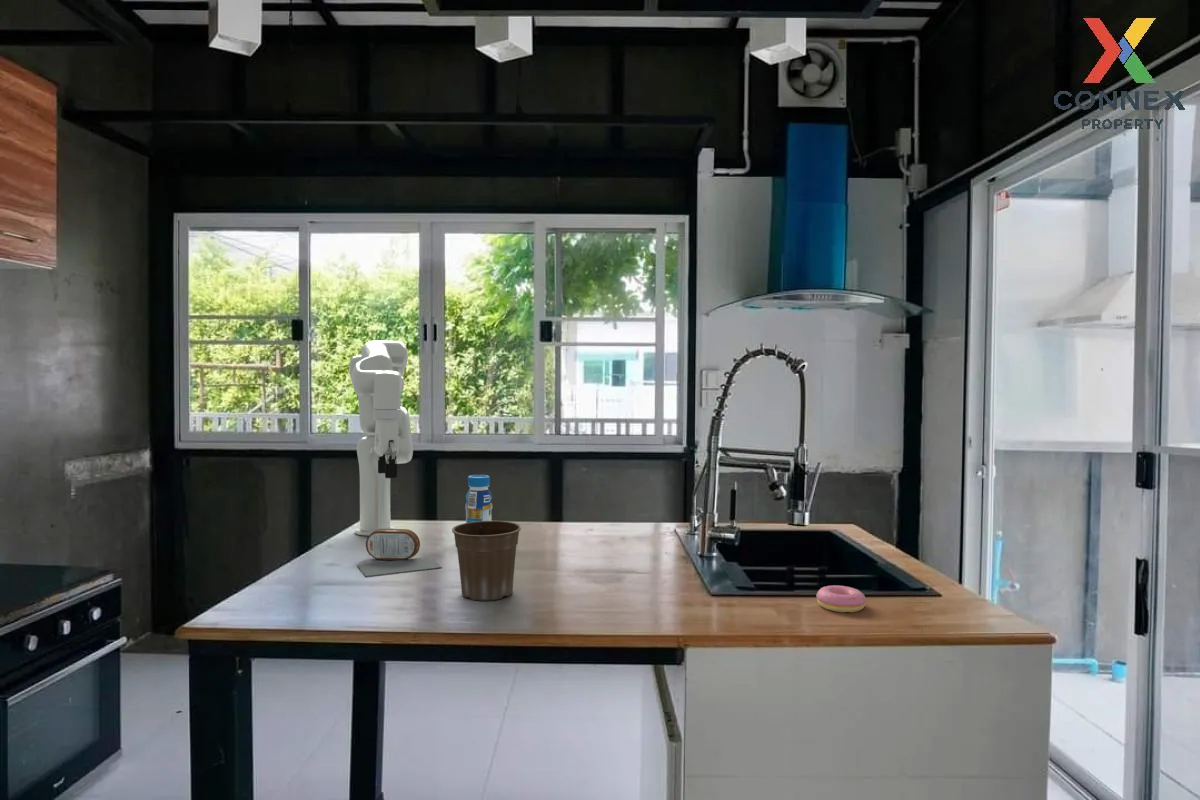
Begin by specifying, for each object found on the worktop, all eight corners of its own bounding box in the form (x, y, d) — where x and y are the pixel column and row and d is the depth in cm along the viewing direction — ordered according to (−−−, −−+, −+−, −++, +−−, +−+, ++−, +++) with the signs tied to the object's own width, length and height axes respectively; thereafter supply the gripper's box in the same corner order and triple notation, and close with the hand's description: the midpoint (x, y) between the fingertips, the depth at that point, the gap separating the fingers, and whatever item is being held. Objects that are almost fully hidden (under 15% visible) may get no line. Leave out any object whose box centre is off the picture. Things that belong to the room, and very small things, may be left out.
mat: (357, 565, 204) (357, 564, 204) (429, 557, 214) (429, 556, 214) (365, 577, 194) (365, 575, 194) (441, 568, 203) (441, 566, 203)
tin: (420, 558, 211) (420, 528, 211) (416, 560, 208) (416, 530, 208) (368, 557, 213) (368, 528, 213) (364, 560, 210) (364, 530, 210)
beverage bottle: (462, 537, 239) (462, 474, 238) (487, 535, 243) (488, 473, 242) (469, 543, 232) (469, 478, 231) (495, 540, 235) (495, 477, 234)
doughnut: (833, 616, 167) (834, 598, 167) (806, 601, 178) (807, 584, 178) (875, 612, 170) (876, 594, 170) (846, 598, 181) (847, 581, 181)
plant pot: (454, 606, 171) (454, 536, 170) (449, 586, 186) (449, 522, 186) (525, 601, 175) (526, 532, 174) (514, 582, 191) (515, 519, 190)
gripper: (367, 413, 221) (367, 472, 222) (380, 417, 205) (380, 480, 206) (393, 412, 224) (393, 470, 225) (408, 417, 209) (407, 479, 210)
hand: (387, 475), depth 216 cm, fingers open, 8 cm apart
